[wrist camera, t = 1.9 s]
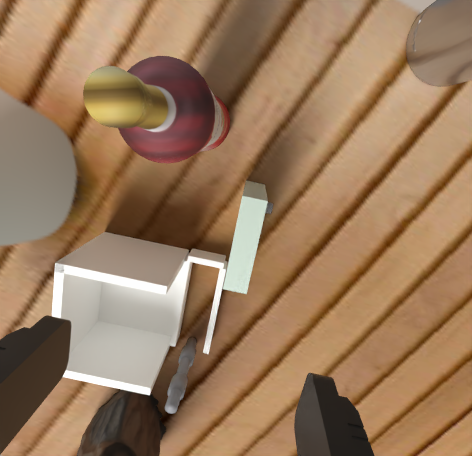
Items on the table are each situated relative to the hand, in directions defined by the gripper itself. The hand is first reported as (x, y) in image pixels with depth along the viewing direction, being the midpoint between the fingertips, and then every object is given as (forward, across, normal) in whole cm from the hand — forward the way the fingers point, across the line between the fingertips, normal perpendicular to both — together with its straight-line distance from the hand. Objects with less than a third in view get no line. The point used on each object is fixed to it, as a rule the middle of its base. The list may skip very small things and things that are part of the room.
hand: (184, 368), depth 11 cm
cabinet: (+35, +8, +16) cm, 39 cm away
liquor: (+35, +6, -8) cm, 36 cm away
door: (+35, -2, +3) cm, 35 cm away
